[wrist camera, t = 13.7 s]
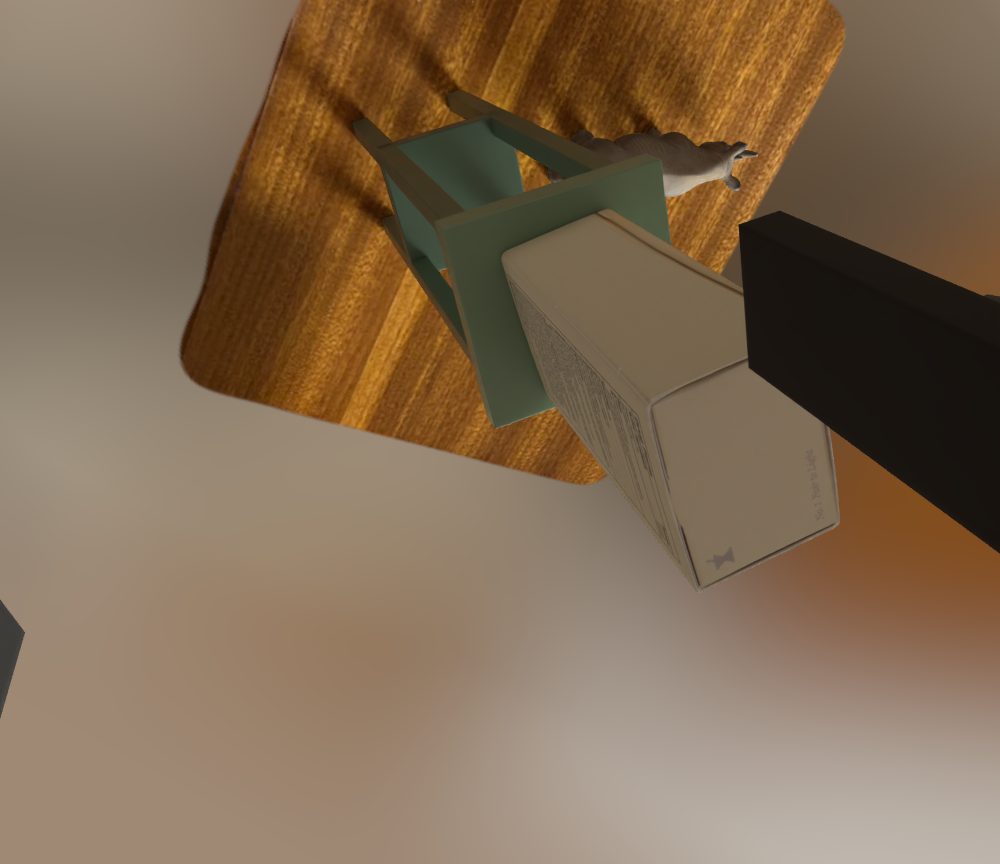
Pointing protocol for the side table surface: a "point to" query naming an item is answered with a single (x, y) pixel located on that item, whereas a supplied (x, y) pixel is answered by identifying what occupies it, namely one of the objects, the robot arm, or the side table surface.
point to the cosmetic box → (672, 395)
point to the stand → (459, 181)
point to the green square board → (483, 283)
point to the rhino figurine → (670, 157)
